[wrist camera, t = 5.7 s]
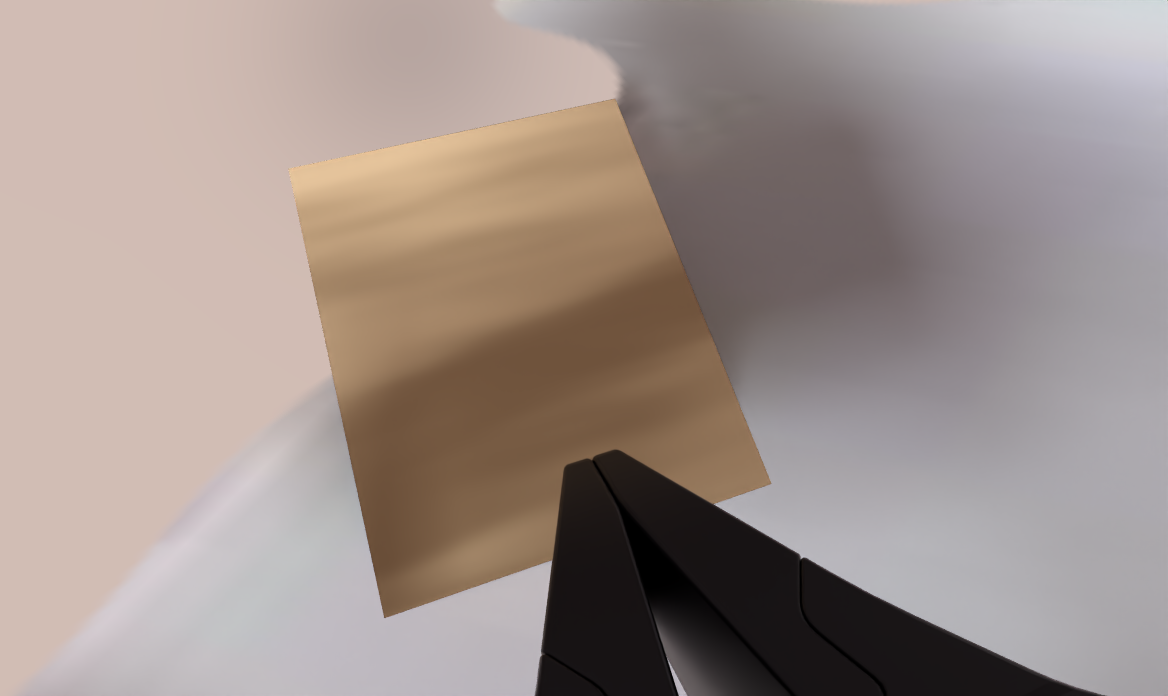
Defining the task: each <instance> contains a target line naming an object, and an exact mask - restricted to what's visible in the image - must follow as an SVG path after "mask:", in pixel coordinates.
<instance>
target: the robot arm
mask: <svg viewBox="0 0 1168 696" xmlns="http://www.w3.org/2000/svg"><path fill="white" fill-rule="evenodd" d="M541 654H542V656H541V657H540V661H539V669H538V677H537V685H536V691H535V696H679V695H678V692H677V689H676V686H675V682H674V679H673V676H672V673H671V670H670V666H669V663H668V660H669V662H670V664H671V666H672V668H673V669H674V671H675V673H676V675H677V677H678V679H679V681H680V683H681V684H682V686H683V688H684V690H685V692H686V694H687V696H1105V695H1101V694H1097V693H1094V692H1090V691H1087V690H1083V689H1080V688H1077V687H1074V686H1071V685H1068V684H1065V683H1063V682H1060V681H1057V680H1054V679H1052V678H1050V677H1047V676H1045V675H1043V674H1040V673H1038V672H1036V671H1033V670H1031V669H1029V668H1027V667H1025V666H1022V665H1020V664H1018V663H1016V662H1014V661H1012V660H1009V659H1007V658H1005V657H1003V656H1001V655H999V654H997V653H994V652H992V651H990V650H988V649H986V648H984V647H981V646H979V645H977V644H975V643H973V642H971V641H969V640H966V639H964V638H962V637H960V636H958V635H956V634H953V633H951V632H949V631H947V630H945V629H943V628H940V627H938V626H936V625H934V624H932V623H930V622H928V621H925V620H923V619H921V618H919V617H917V616H915V615H913V614H911V613H909V612H907V611H904V610H902V609H900V608H898V607H896V606H894V605H892V604H890V603H888V602H886V601H884V600H882V599H880V598H878V597H876V596H874V595H872V594H870V593H868V592H866V591H864V590H862V589H861V588H859V587H857V586H855V585H853V584H851V583H850V582H848V581H846V580H844V579H842V578H840V577H839V576H837V575H835V574H833V573H831V572H830V571H828V570H826V569H824V568H823V567H821V566H819V565H817V564H816V563H814V562H812V561H811V560H809V559H807V558H802V559H801V556H800V555H799V554H798V553H796V552H795V551H793V550H791V549H789V548H788V547H786V546H784V545H783V544H781V543H779V542H777V541H776V540H774V539H772V538H771V537H769V536H767V535H765V534H764V533H762V532H760V531H758V530H757V529H755V528H753V527H752V526H750V525H748V524H746V523H745V522H743V521H741V520H740V519H738V518H736V517H734V516H733V515H731V514H729V513H727V512H726V511H724V510H722V509H721V508H719V507H717V506H715V505H714V504H712V503H710V502H709V501H707V500H705V499H703V498H702V497H700V496H698V495H696V494H695V493H693V492H691V491H690V490H688V489H686V488H684V487H683V486H681V485H679V484H678V483H676V482H674V481H672V480H671V479H669V478H667V477H665V476H664V475H662V474H660V473H659V472H657V471H655V470H653V469H652V468H650V467H648V466H647V465H645V464H643V463H641V462H640V461H638V460H636V459H634V458H633V457H631V456H629V455H628V454H626V453H624V452H622V451H621V450H617V449H614V450H611V451H607V452H604V453H601V454H598V455H595V456H594V457H593V459H592V460H591V459H588V458H586V459H582V460H579V461H576V462H573V463H570V464H567V465H566V466H565V467H564V471H563V479H562V487H561V495H560V503H559V511H558V519H557V527H556V535H555V543H554V551H553V559H552V567H551V575H550V583H549V591H548V599H547V607H546V616H545V624H544V632H543V640H542V648H541ZM666 656H667V657H666ZM667 658H668V660H667Z"/></svg>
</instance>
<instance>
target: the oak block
mask: <svg viewBox="0 0 1168 696" xmlns="http://www.w3.org/2000/svg"><path fill="white" fill-rule="evenodd" d="M289 173H290V178H291V183H292V188H293V192H294V196H295V202H296V206H297V211H298V216H299V220H300V225H301V229H302V234H303V239H304V243H305V248H306V253H307V258H308V262H309V267H310V272H311V276H312V281H313V286H314V291H315V295H316V300H317V305H318V309H319V314H320V318H321V323H322V328H323V333H324V337H325V342H326V347H327V351H328V356H329V361H330V366H331V370H332V375H333V380H334V384H335V389H336V394H337V398H338V403H339V408H340V412H341V417H342V422H343V427H344V431H345V436H346V441H347V445H348V450H349V455H350V459H351V464H352V469H353V473H354V478H355V483H356V487H357V492H358V497H359V501H360V506H361V511H362V516H363V520H364V525H365V530H366V534H367V539H368V544H369V548H370V553H371V558H372V562H373V567H374V572H375V576H376V581H377V586H378V590H379V595H380V600H381V605H382V609H383V614H384V618H386V617H389V616H392V615H395V614H398V613H401V612H404V611H407V610H409V609H412V608H415V607H418V606H421V605H424V604H427V603H430V602H432V601H435V600H438V599H441V598H444V597H447V596H450V595H453V594H455V593H458V592H461V591H464V590H467V589H470V588H473V587H476V586H479V585H481V584H484V583H487V582H490V581H493V580H496V579H499V578H502V577H504V576H507V575H510V574H513V573H516V572H519V571H522V570H525V569H527V568H530V567H533V566H536V565H539V564H542V563H545V562H548V561H551V560H552V559H553V551H554V543H555V535H556V527H557V519H558V511H559V503H560V495H561V487H562V479H563V471H564V467H565V466H566V465H567V464H570V463H573V462H576V461H579V460H582V459H586V458H588V459H591V460H592V459H593V457H594V456H595V455H598V454H601V453H604V452H607V451H611V450H614V449H617V450H621V451H622V452H624V453H626V454H628V455H629V456H631V457H633V458H634V459H636V460H638V461H640V462H641V463H643V464H645V465H647V466H648V467H650V468H652V469H653V470H655V471H657V472H659V473H660V474H662V475H664V476H665V477H667V478H669V479H671V480H672V481H674V482H676V483H678V484H679V485H681V486H683V487H684V488H686V489H688V490H690V491H691V492H693V493H695V494H696V495H698V496H700V497H702V498H703V499H705V500H707V501H709V502H710V503H712V504H715V503H718V502H720V501H723V500H726V499H729V498H732V497H735V496H738V495H741V494H744V493H746V492H749V491H752V490H755V489H758V488H761V487H764V486H767V485H769V484H771V481H770V479H769V477H768V474H767V472H766V469H765V467H764V464H763V462H762V459H761V457H760V454H759V452H758V449H757V447H756V444H755V442H754V440H753V437H752V435H751V432H750V430H749V427H748V425H747V422H746V420H745V417H744V415H743V412H742V410H741V408H740V405H739V403H738V400H737V398H736V395H735V393H734V390H733V388H732V385H731V383H730V380H729V378H728V376H727V373H726V371H725V368H724V366H723V363H722V361H721V358H720V356H719V353H718V351H717V348H716V346H715V344H714V341H713V339H712V336H711V334H710V331H709V329H708V326H707V324H706V321H705V319H704V316H703V314H702V311H701V309H700V307H699V304H698V302H697V299H696V297H695V294H694V292H693V289H692V287H691V284H690V282H689V279H688V277H687V275H686V272H685V270H684V267H683V265H682V262H681V260H680V257H679V255H678V252H677V250H676V247H675V245H674V243H673V240H672V238H671V235H670V233H669V230H668V228H667V225H666V223H665V220H664V218H663V215H662V213H661V210H660V208H659V206H658V203H657V201H656V198H655V196H654V193H653V191H652V188H651V186H650V183H649V181H648V178H647V176H646V174H645V171H644V169H643V166H642V164H641V161H640V159H639V156H638V154H637V151H636V149H635V146H634V144H633V142H632V139H631V137H630V134H629V132H628V129H627V127H626V124H625V122H624V119H623V117H622V114H621V112H620V110H619V107H618V105H617V102H616V100H615V99H611V100H607V101H602V102H598V103H593V104H588V105H583V106H579V107H574V108H570V109H565V110H560V111H555V112H551V113H546V114H541V115H537V116H532V117H528V118H523V119H518V120H513V121H509V122H504V123H500V124H495V125H490V126H486V127H481V128H476V129H472V130H467V131H462V132H458V133H453V134H448V135H444V136H439V137H435V138H429V139H425V140H420V141H416V142H411V143H407V144H402V145H397V146H393V147H388V148H383V149H379V150H374V151H370V152H364V153H360V154H355V155H351V156H346V157H341V158H337V159H332V160H328V161H323V162H318V163H313V164H309V165H304V166H299V167H294V168H290V169H289Z"/></svg>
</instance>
